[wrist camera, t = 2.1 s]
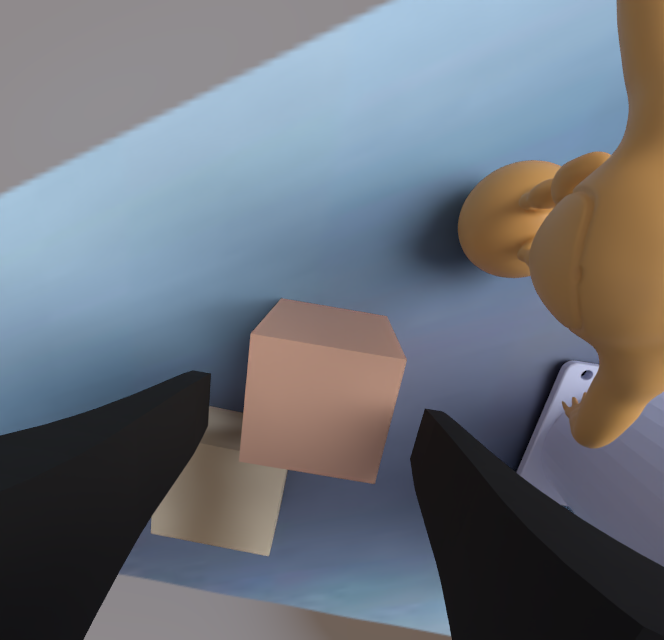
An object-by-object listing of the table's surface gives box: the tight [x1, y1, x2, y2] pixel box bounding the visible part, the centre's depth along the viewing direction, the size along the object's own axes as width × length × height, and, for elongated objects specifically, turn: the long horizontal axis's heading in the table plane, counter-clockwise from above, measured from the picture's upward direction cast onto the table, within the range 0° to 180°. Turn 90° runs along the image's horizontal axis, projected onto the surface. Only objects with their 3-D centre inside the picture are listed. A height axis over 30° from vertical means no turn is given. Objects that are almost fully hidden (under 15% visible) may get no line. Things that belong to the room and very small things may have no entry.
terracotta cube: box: [239, 298, 407, 484], centre depth 13 cm, size 5×5×5 cm
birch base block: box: [151, 406, 288, 556], centre depth 16 cm, size 6×6×3 cm
